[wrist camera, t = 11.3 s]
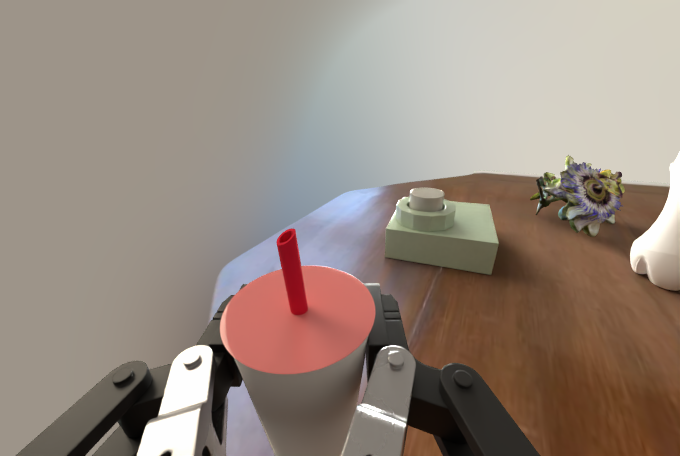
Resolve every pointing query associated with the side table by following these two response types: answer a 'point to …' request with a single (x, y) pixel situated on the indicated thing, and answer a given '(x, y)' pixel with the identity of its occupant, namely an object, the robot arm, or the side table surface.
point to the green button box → (444, 236)
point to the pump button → (426, 199)
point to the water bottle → (662, 241)
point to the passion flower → (582, 195)
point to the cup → (301, 351)
